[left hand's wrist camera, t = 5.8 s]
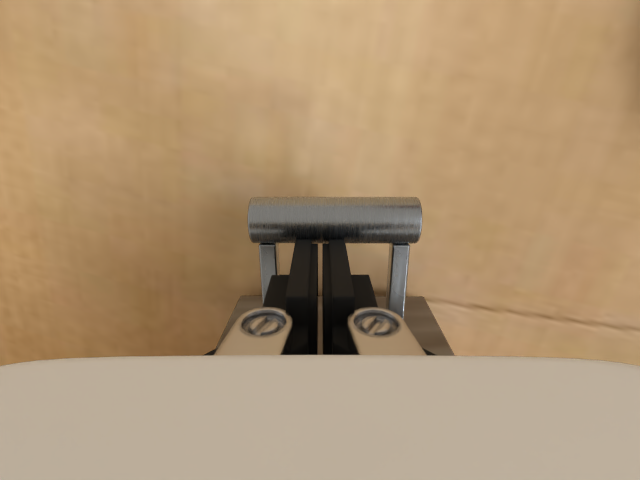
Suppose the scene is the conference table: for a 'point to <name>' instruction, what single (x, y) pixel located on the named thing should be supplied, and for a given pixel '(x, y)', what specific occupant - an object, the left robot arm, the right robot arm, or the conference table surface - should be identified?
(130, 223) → the conference table surface
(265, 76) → the conference table surface
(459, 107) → the conference table surface
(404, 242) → the drawer
